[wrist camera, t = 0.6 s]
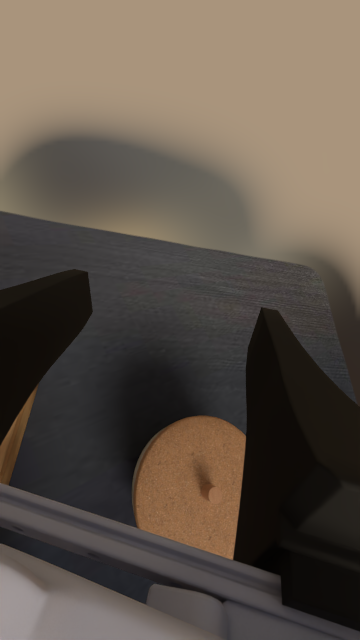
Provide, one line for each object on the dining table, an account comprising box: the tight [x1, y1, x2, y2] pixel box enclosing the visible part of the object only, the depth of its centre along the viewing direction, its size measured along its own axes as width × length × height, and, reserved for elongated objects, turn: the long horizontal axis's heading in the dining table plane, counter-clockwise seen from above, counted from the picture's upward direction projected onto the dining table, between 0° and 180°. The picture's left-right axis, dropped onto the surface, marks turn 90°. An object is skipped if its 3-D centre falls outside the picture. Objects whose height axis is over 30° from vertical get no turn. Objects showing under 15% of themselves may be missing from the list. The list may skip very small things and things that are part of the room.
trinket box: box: [132, 416, 246, 560], centre depth 23 cm, size 11×11×9 cm
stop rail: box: [0, 383, 39, 485], centre depth 22 cm, size 16×2×3 cm, turn 175°
